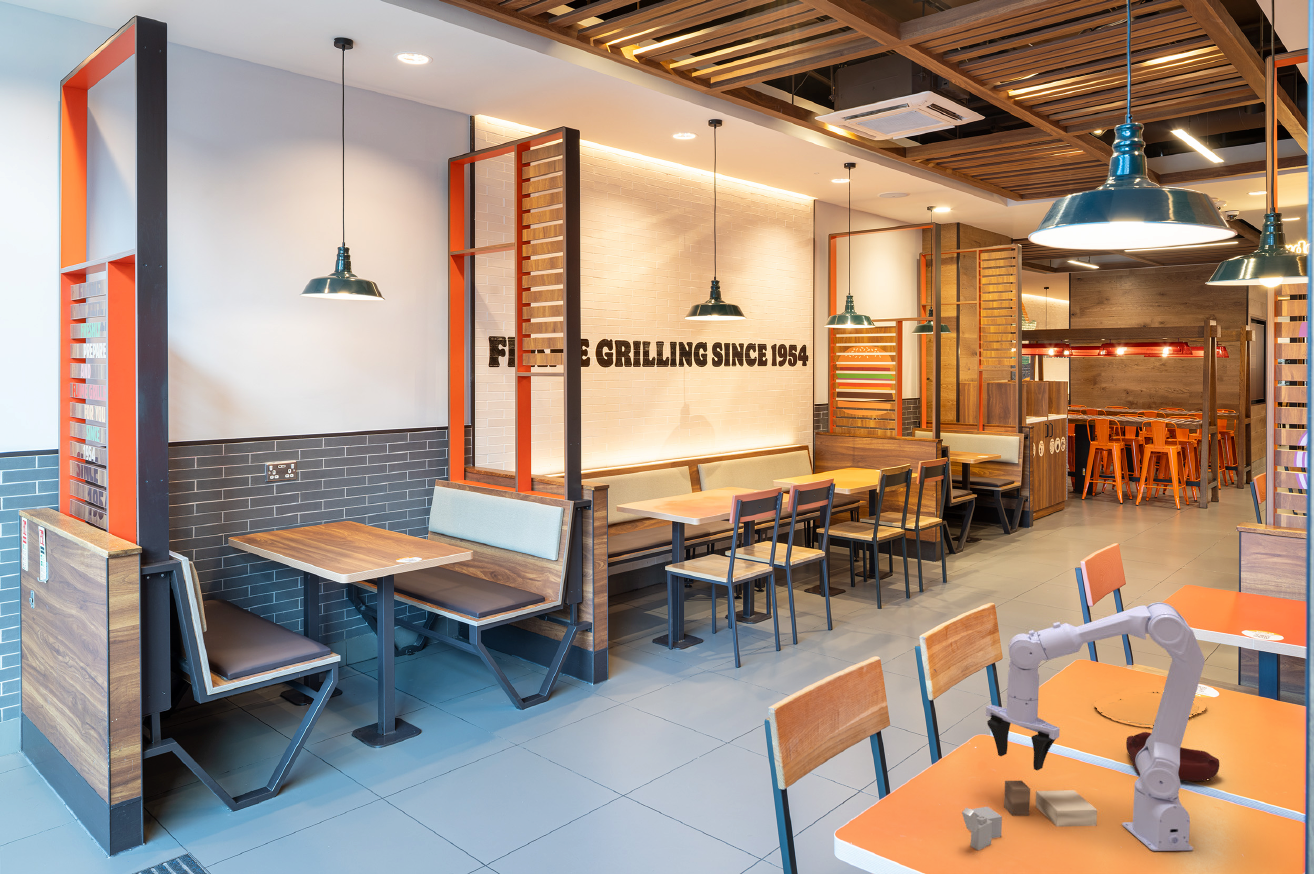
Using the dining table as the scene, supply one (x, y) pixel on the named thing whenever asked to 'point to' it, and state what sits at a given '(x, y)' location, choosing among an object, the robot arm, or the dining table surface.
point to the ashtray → (1191, 761)
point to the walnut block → (1017, 798)
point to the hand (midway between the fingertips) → (1019, 761)
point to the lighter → (978, 829)
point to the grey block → (991, 819)
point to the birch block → (1066, 808)
